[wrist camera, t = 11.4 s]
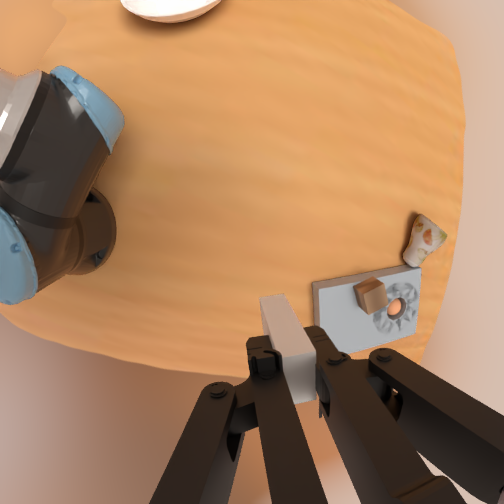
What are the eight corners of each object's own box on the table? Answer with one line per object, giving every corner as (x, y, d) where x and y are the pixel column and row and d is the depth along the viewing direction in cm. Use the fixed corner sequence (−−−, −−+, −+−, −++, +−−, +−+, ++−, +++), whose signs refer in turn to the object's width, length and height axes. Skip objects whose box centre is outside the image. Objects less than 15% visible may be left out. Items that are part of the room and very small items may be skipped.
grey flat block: (315, 350, 50) (320, 360, 47) (312, 282, 47) (318, 289, 44) (406, 326, 51) (415, 333, 48) (411, 263, 48) (421, 268, 45)
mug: (389, 259, 48) (420, 241, 39) (401, 220, 51) (430, 198, 42) (416, 279, 48) (450, 264, 38) (427, 239, 51) (457, 221, 41)
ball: (384, 316, 47) (402, 312, 45) (381, 298, 48) (399, 294, 46) (385, 316, 50) (402, 313, 48) (383, 299, 51) (400, 296, 49)
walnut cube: (358, 306, 45) (368, 315, 41) (352, 286, 44) (363, 294, 40) (377, 296, 45) (388, 304, 41) (372, 276, 44) (384, 283, 40)
